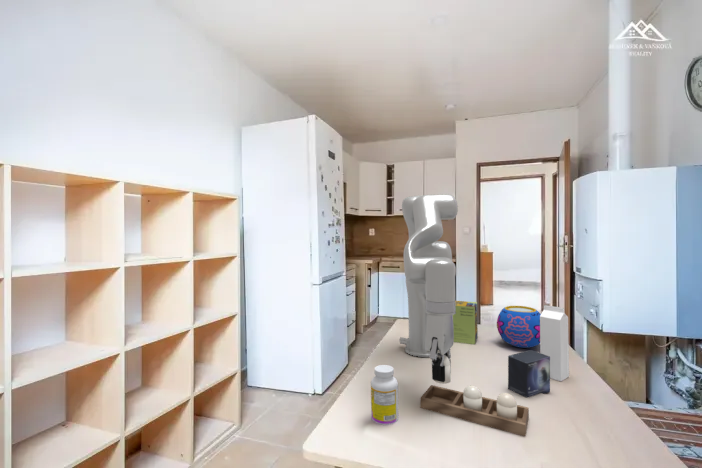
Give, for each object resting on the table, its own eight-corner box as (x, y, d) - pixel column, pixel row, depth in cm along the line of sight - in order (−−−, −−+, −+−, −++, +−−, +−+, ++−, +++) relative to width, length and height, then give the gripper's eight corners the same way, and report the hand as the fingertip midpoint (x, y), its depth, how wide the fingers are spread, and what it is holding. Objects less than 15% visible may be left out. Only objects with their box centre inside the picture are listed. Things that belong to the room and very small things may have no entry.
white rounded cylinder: (430, 381, 87) (430, 355, 87) (436, 375, 91) (435, 350, 91) (447, 385, 85) (447, 358, 85) (452, 378, 89) (452, 353, 89)
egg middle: (461, 414, 84) (461, 387, 83) (465, 406, 87) (465, 380, 87) (480, 419, 81) (479, 391, 81) (483, 410, 85) (483, 384, 85)
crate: (420, 410, 87) (420, 397, 87) (431, 396, 94) (431, 384, 94) (525, 439, 74) (525, 425, 74) (528, 421, 81) (528, 407, 81)
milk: (561, 382, 102) (560, 309, 102) (540, 375, 107) (539, 306, 107) (569, 376, 106) (568, 306, 106) (548, 370, 111) (547, 303, 111)
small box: (527, 401, 91) (527, 362, 91) (506, 391, 97) (506, 355, 97) (551, 392, 96) (551, 355, 96) (530, 383, 101) (530, 349, 101)
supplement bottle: (378, 410, 87) (377, 361, 87) (402, 417, 84) (401, 366, 84) (366, 423, 82) (365, 370, 81) (391, 431, 78) (391, 376, 78)
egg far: (495, 423, 79) (495, 395, 79) (498, 414, 83) (498, 387, 83) (516, 428, 77) (515, 399, 77) (518, 419, 81) (517, 392, 81)
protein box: (475, 344, 137) (475, 306, 137) (437, 340, 144) (437, 303, 144) (478, 337, 147) (477, 301, 147) (442, 333, 153) (441, 299, 153)
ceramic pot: (547, 343, 138) (546, 306, 138) (544, 356, 123) (544, 315, 123) (500, 336, 147) (500, 302, 147) (493, 348, 132) (493, 310, 132)
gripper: (436, 300, 97) (437, 363, 97) (415, 311, 83) (416, 386, 83) (463, 302, 93) (464, 368, 93) (445, 315, 79) (446, 393, 79)
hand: (441, 376), depth 88 cm, fingers closed on white rounded cylinder, 4 cm apart
